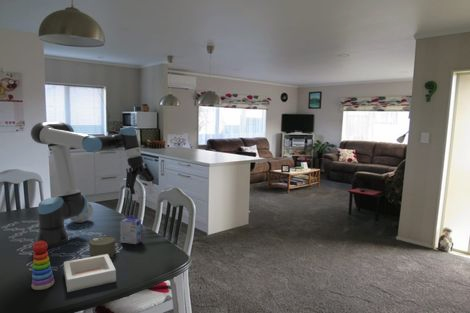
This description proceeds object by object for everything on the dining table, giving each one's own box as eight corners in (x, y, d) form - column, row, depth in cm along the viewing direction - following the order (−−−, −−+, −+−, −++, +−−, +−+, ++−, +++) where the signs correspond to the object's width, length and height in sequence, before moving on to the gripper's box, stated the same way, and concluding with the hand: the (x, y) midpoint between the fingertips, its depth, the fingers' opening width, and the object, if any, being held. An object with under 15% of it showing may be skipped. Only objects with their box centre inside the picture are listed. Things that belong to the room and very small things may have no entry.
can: (103, 260, 155) (103, 246, 155) (84, 256, 160) (83, 242, 159) (120, 251, 167) (120, 238, 166) (101, 247, 171) (101, 234, 170)
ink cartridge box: (141, 240, 181) (141, 215, 179) (136, 244, 175) (136, 218, 174) (125, 239, 183) (125, 213, 181) (120, 242, 177) (119, 216, 176)
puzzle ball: (64, 226, 201) (63, 202, 200) (70, 218, 216) (70, 196, 214) (91, 224, 205) (90, 201, 203) (95, 217, 219) (94, 195, 218)
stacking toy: (37, 281, 135) (35, 237, 132) (57, 280, 135) (56, 237, 133) (27, 291, 127) (24, 244, 125) (48, 290, 127) (46, 244, 125)
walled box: (64, 273, 142) (63, 261, 141) (108, 264, 151) (107, 253, 151) (67, 292, 127) (67, 279, 126) (116, 281, 136) (115, 269, 135)
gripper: (123, 159, 156) (134, 202, 157) (154, 152, 178) (163, 189, 180) (111, 161, 158) (122, 204, 160) (143, 154, 181) (152, 191, 183)
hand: (144, 196), depth 170 cm, fingers open, 13 cm apart
